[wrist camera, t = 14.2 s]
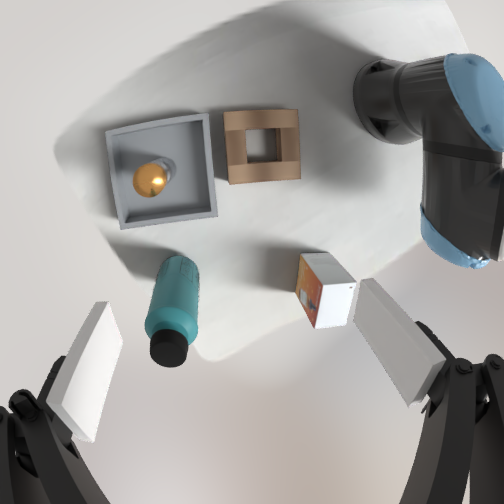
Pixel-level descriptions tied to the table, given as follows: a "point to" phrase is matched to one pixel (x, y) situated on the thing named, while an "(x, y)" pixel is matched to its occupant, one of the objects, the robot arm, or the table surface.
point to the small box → (324, 289)
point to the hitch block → (285, 144)
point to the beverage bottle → (173, 311)
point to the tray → (184, 182)
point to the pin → (154, 177)
